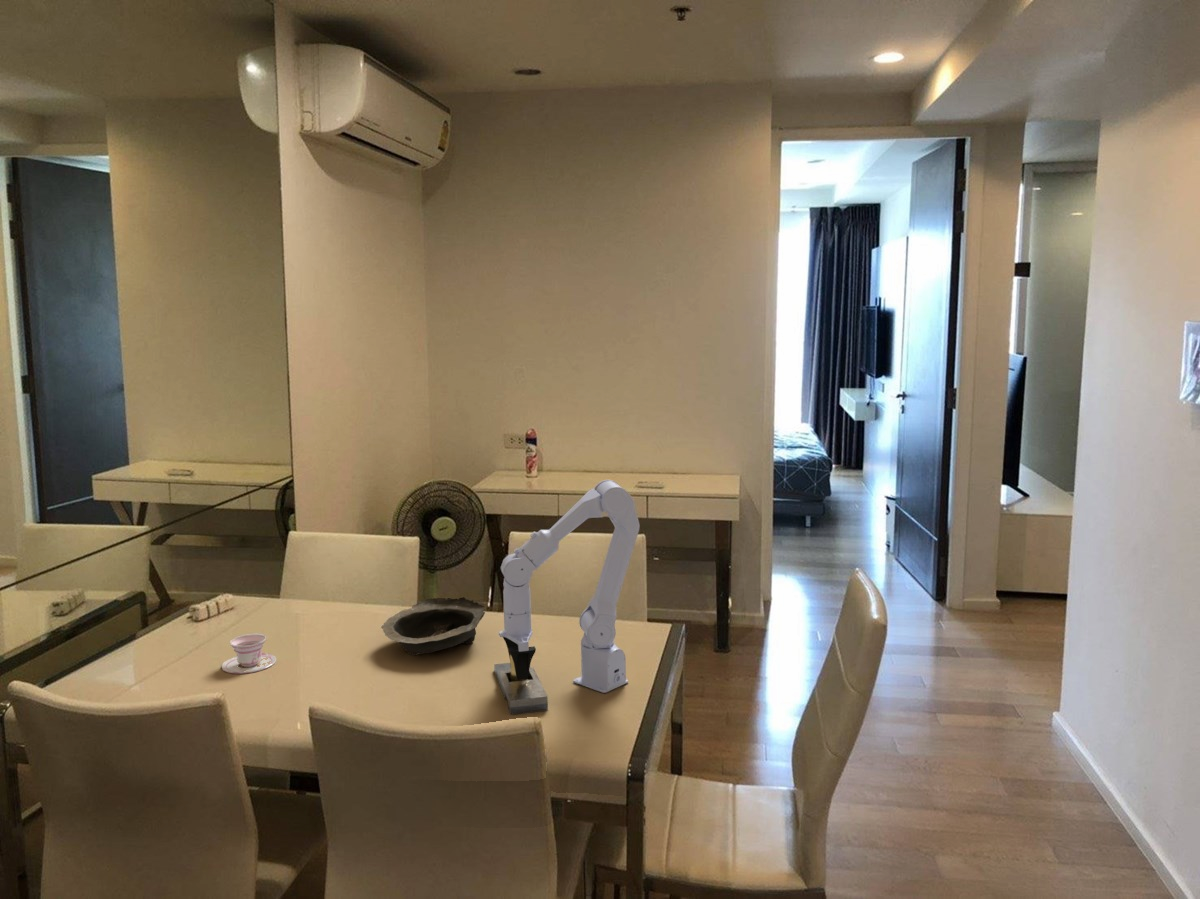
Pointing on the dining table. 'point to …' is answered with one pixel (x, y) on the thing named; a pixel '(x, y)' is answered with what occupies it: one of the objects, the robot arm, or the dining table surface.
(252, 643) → the teacup
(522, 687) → the gray slotted block
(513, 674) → the pin
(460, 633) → the stone bowl
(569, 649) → the dining table surface
